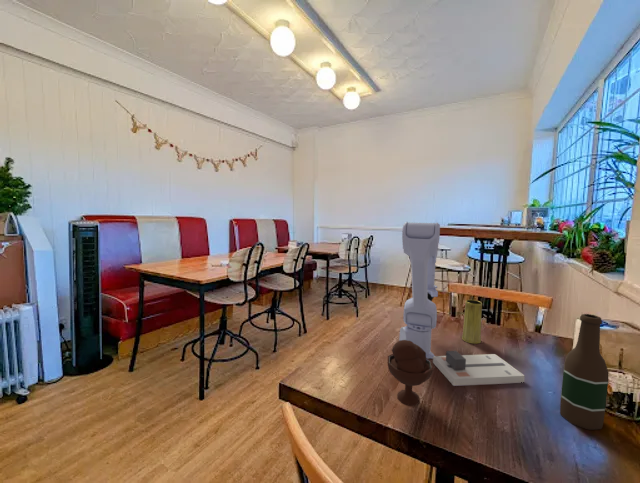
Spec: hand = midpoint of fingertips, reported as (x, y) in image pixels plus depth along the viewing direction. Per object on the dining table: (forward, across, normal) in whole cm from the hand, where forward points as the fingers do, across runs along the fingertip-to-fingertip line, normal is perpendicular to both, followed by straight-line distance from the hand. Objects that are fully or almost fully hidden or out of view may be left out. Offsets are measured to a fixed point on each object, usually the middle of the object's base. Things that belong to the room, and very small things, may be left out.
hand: (424, 310), depth 110 cm
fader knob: (+7, -26, +2) cm, 27 cm away
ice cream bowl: (+10, -36, +20) cm, 42 cm away
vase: (+10, -6, -15) cm, 19 cm away
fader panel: (+9, -26, -4) cm, 28 cm away
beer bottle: (+10, -46, -16) cm, 50 cm away
